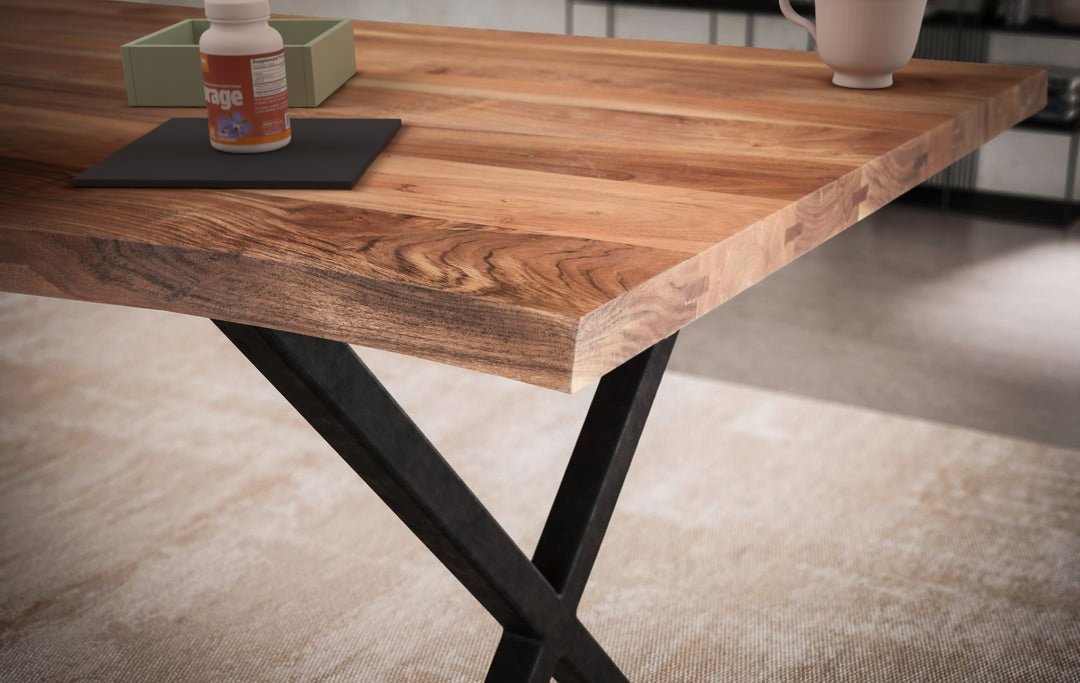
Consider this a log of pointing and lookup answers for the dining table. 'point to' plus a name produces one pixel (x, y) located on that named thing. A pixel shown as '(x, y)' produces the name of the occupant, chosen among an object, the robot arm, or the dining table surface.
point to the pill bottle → (244, 78)
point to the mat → (246, 157)
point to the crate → (176, 72)
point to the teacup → (863, 37)
